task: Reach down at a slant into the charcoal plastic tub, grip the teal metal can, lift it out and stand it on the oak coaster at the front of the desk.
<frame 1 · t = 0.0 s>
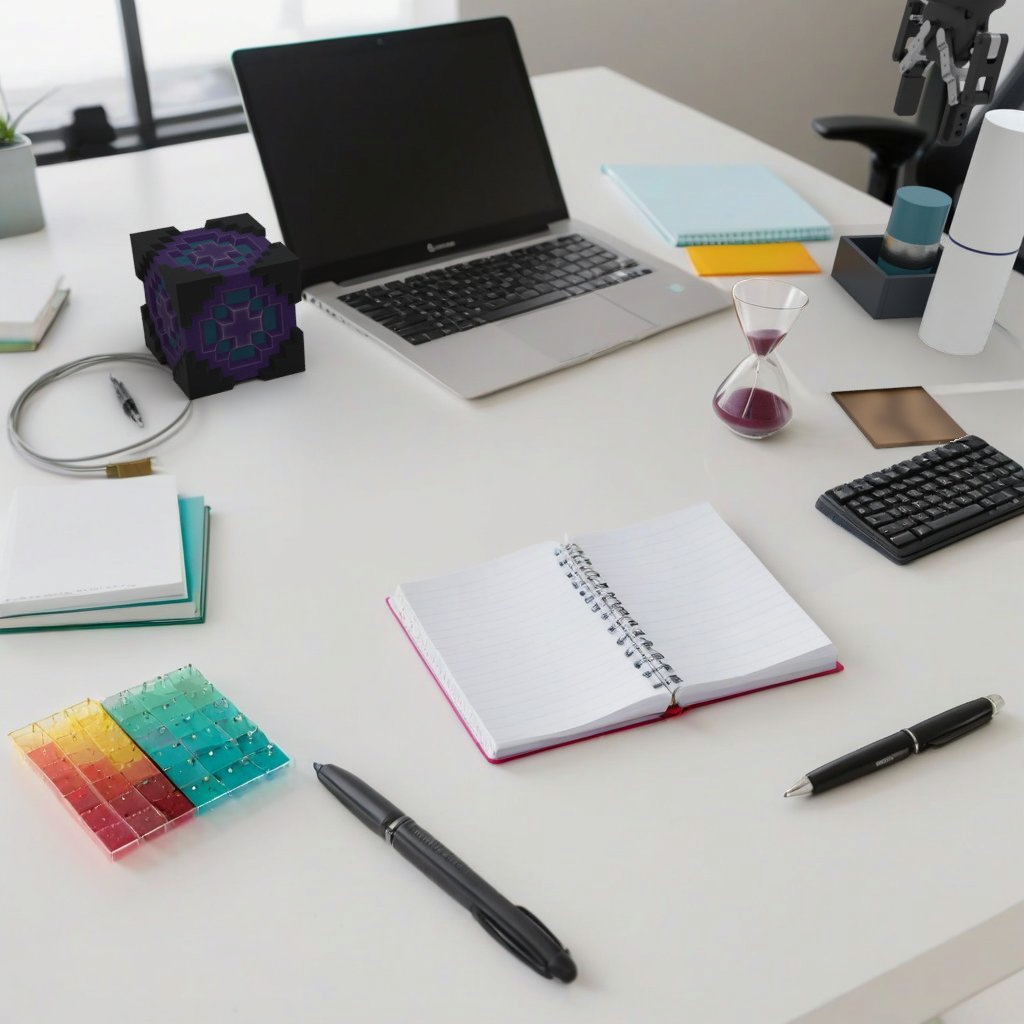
hand: (925, 129, 110), 24 cm above the table, tool pointing down, fingers open, 8 cm apart
energy cube: (225, 359, 116), on the table
coaster: (898, 417, 115), on the table
can: (895, 294, 135), point 1 cm above the table, touching tub
cylindrical container: (948, 348, 128), on the table
tub: (893, 302, 136), on the table
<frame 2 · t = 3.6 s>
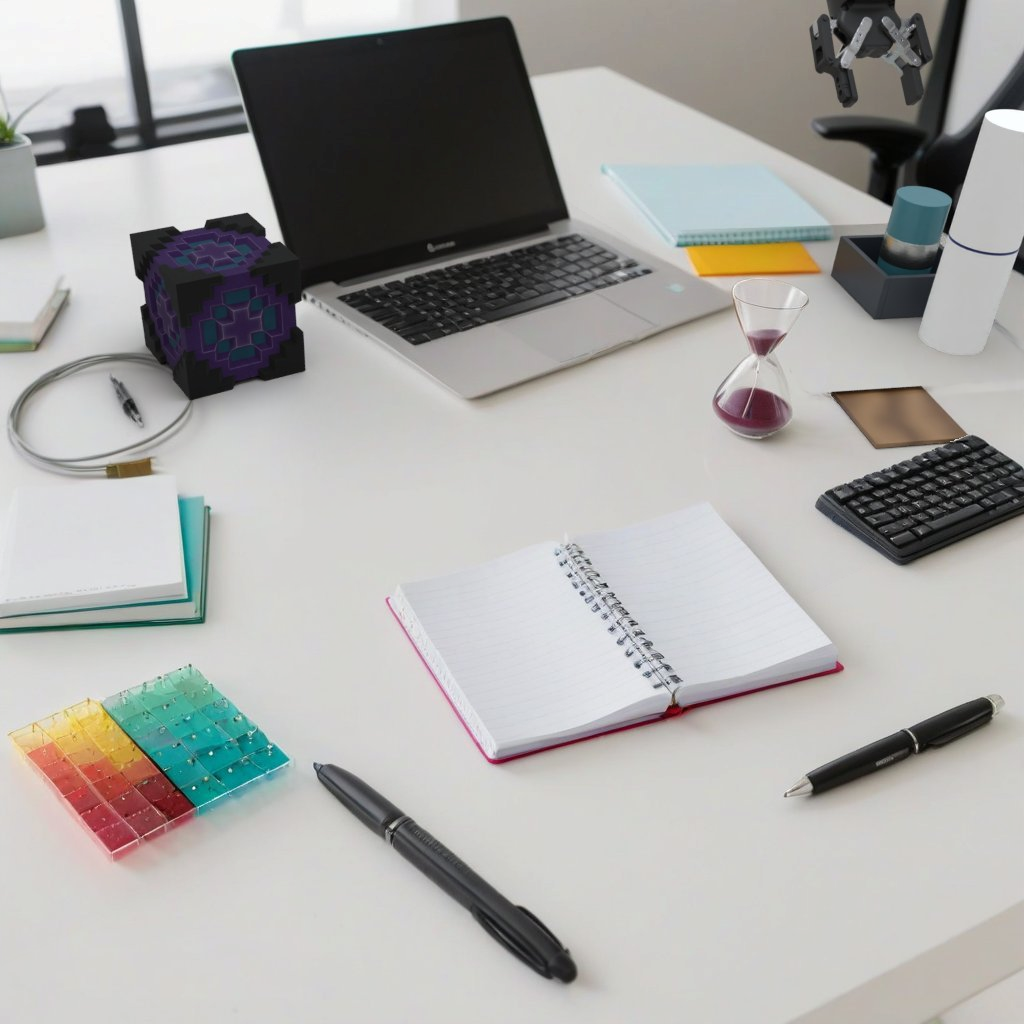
hand: (883, 103, 133), 20 cm above the table, tool tilted 45°, fingers open, 8 cm apart
nothing on the table moved.
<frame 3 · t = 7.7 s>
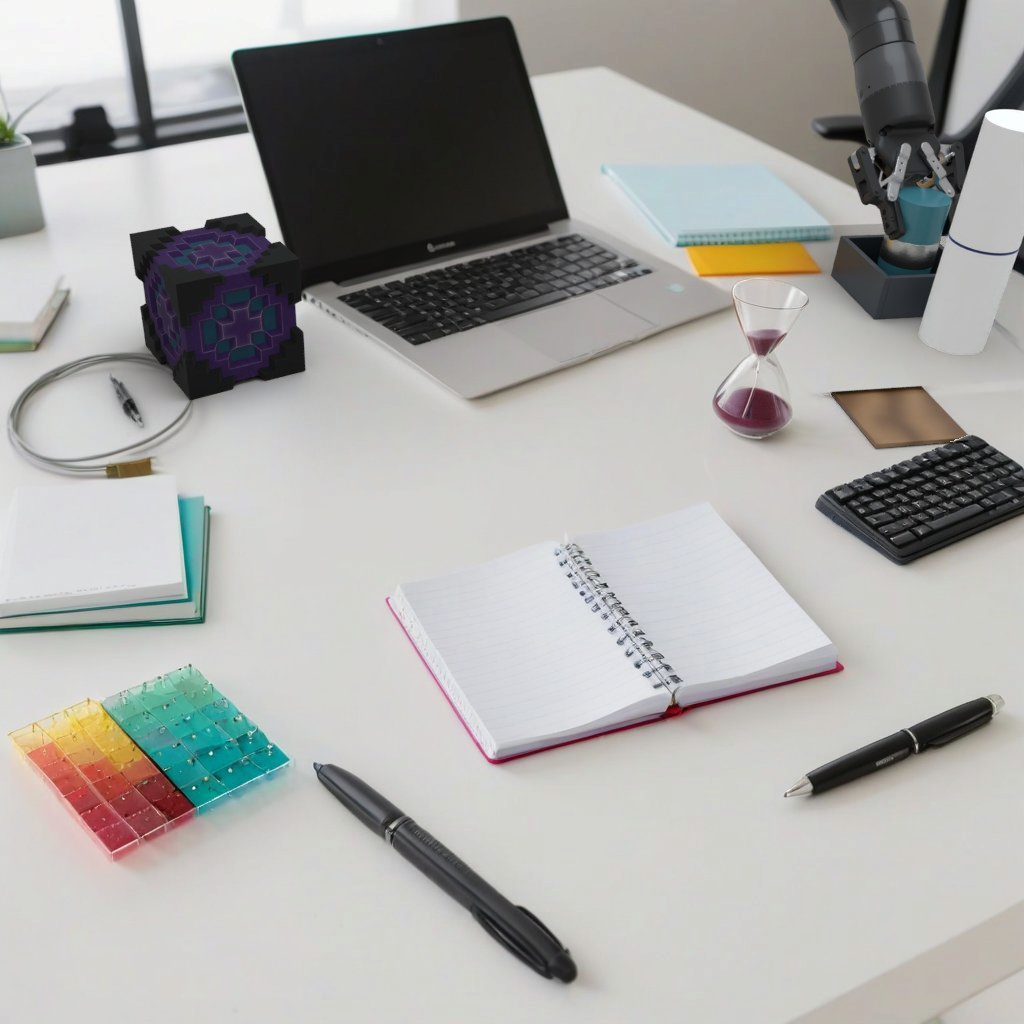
hand: (923, 235, 129), 9 cm above the table, tool tilted 45°, fingers closed on can, 6 cm apart
can: (896, 294, 135), point 1 cm above the table, touching gripper, tub
everything else where it was.
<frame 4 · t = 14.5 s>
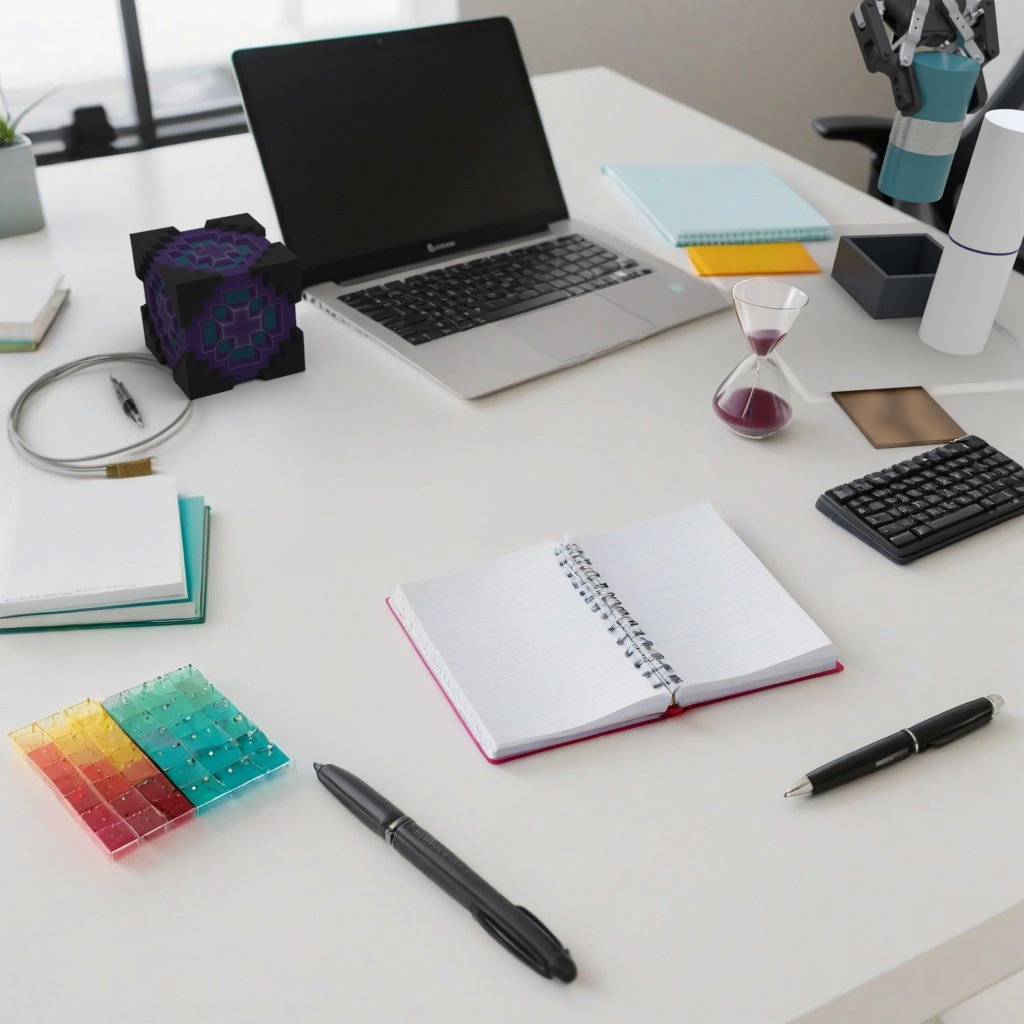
hand: (944, 111, 103), 28 cm above the table, tool tilted 45°, fingers closed on can, 6 cm apart
can: (909, 190, 110), point 20 cm above the table, touching gripper
everything else where it was.
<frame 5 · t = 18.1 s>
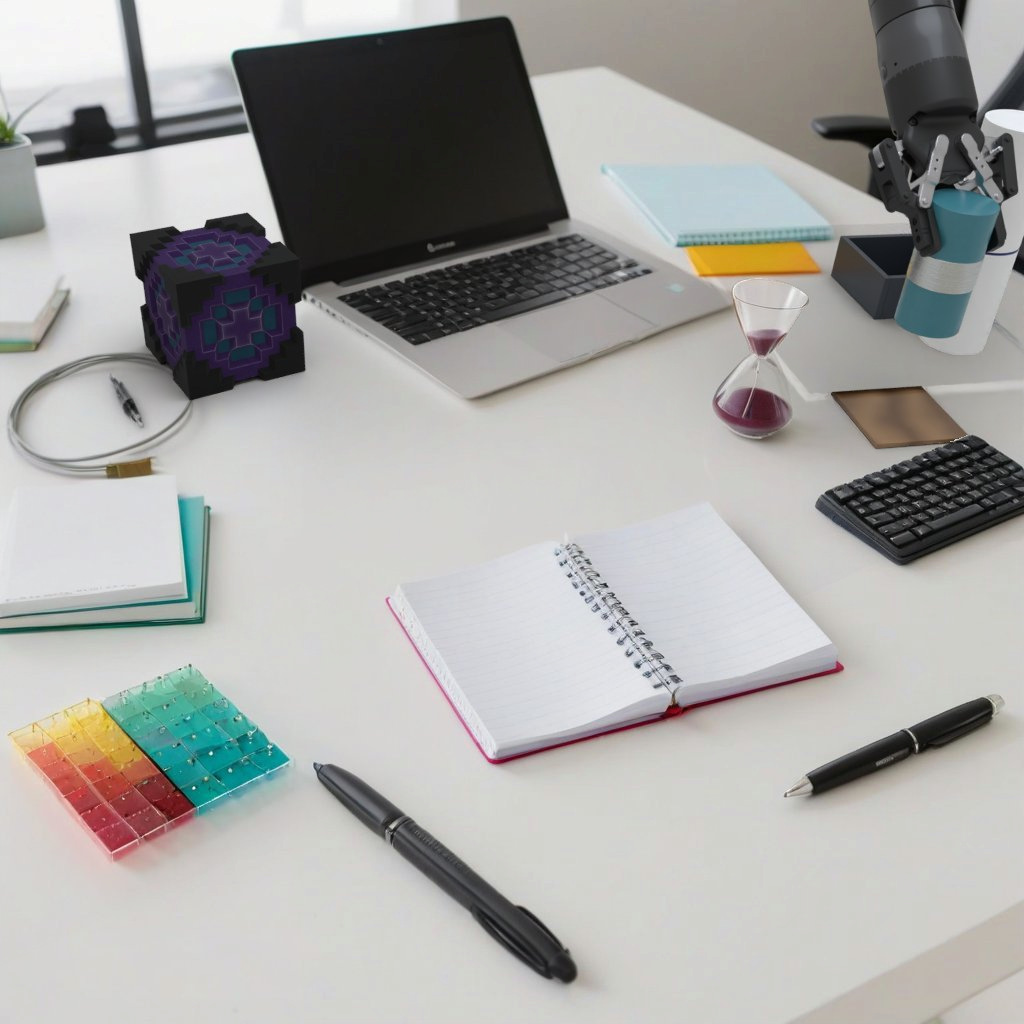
hand: (963, 250, 103), 19 cm above the table, tool tilted 45°, fingers closed on can, 6 cm apart
can: (926, 323, 109), point 10 cm above the table, touching gripper
everything else where it was.
when the fingers open (9 cm above the table, at t = 21.3 s): can stays where it is, resting on coaster.
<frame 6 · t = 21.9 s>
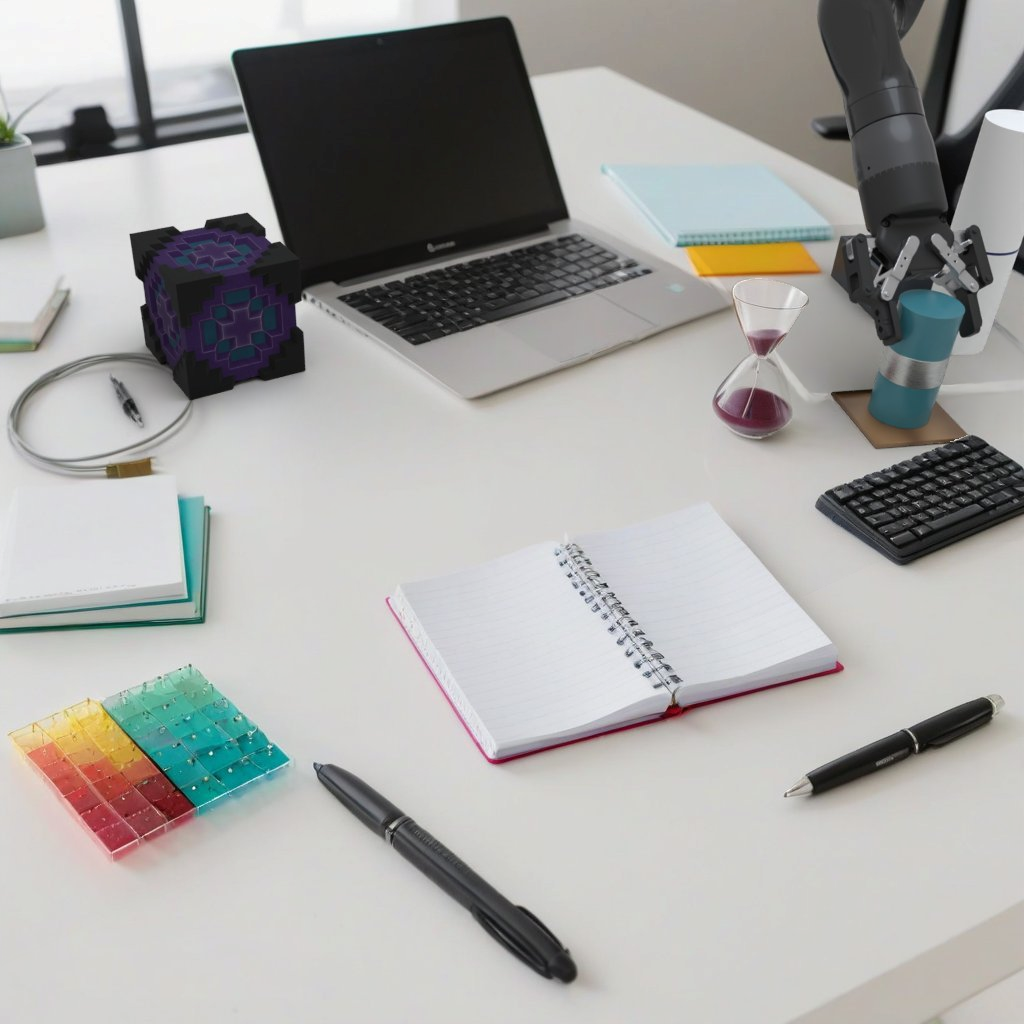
hand: (932, 339, 108), 9 cm above the table, tool tilted 45°, fingers open, 8 cm apart
can: (898, 412, 115), resting on coaster
everything else where it was.
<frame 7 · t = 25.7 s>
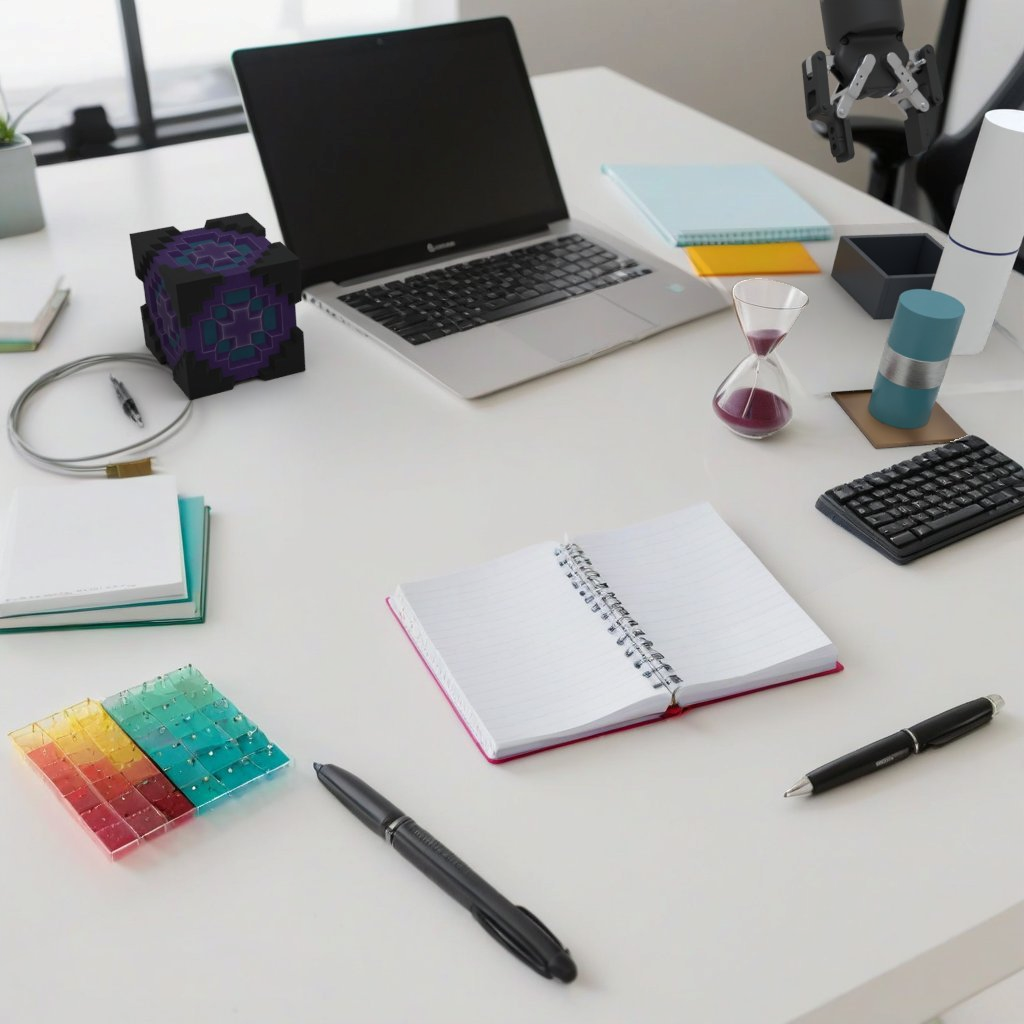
hand: (882, 157, 114), 21 cm above the table, tool tilted 35°, fingers open, 8 cm apart
nothing on the table moved.
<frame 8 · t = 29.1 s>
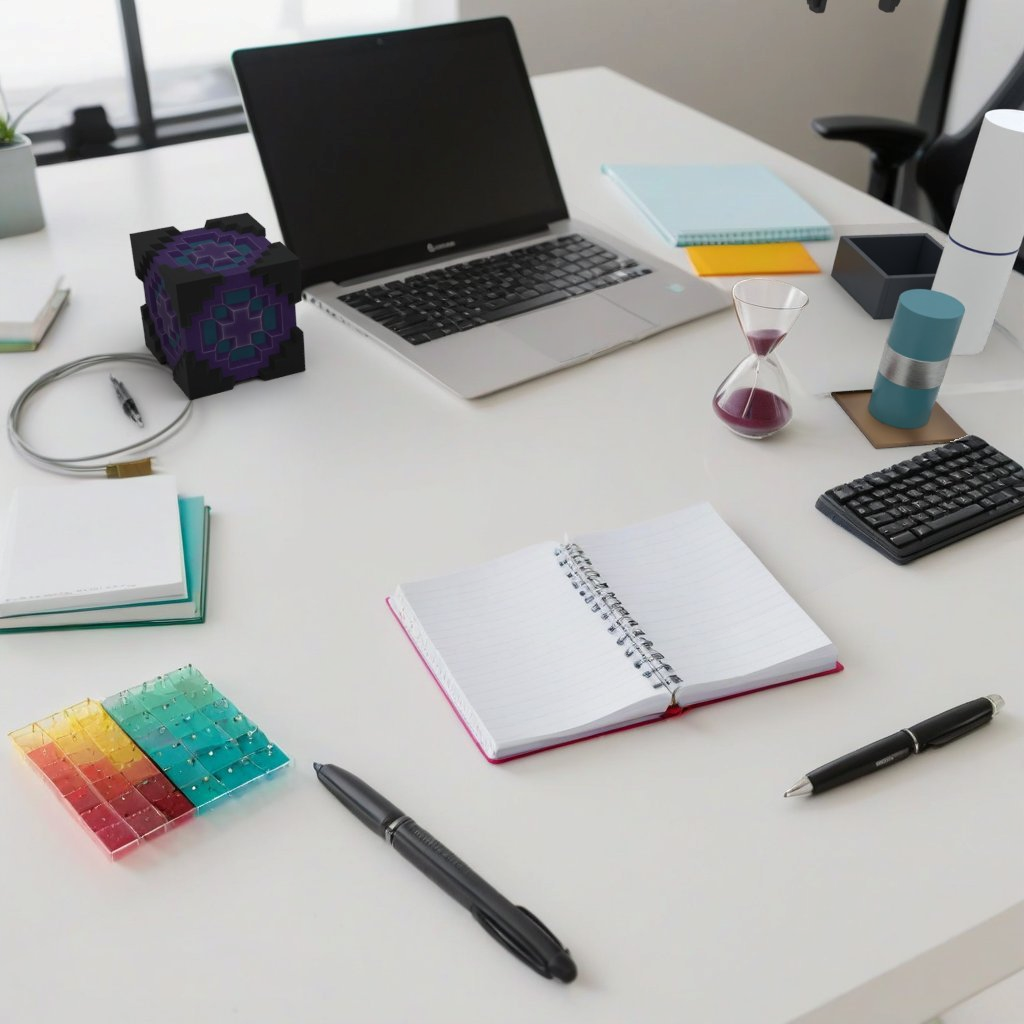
hand: (851, 11, 123), 30 cm above the table, tool pointing down, fingers open, 8 cm apart
nothing on the table moved.
at the end: can inside the target area on the coaster (0.1 cm from its centre), point 0.5 cm above the coaster's base; can tilted 0°; can touching coaster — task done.
